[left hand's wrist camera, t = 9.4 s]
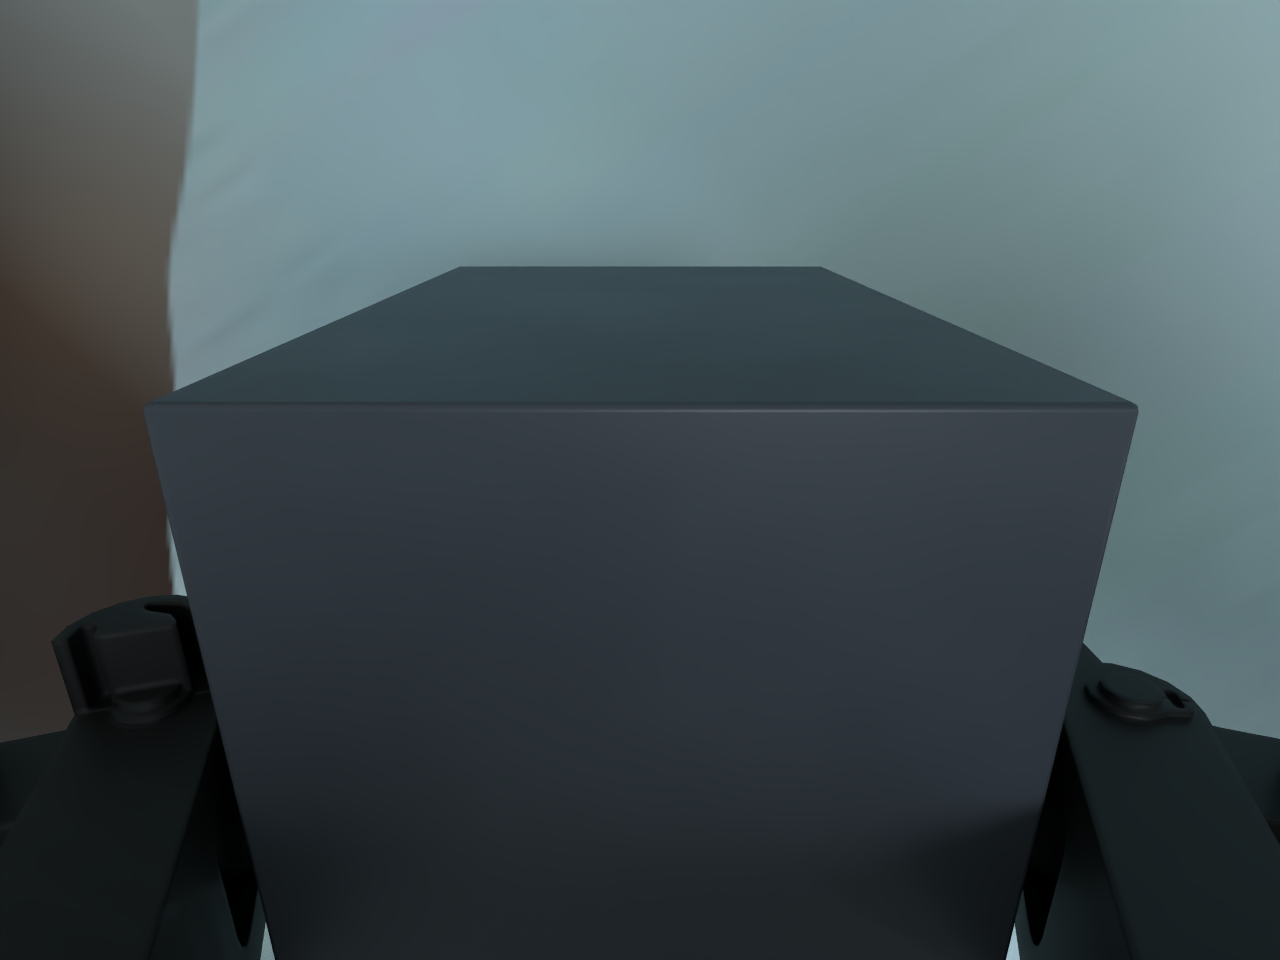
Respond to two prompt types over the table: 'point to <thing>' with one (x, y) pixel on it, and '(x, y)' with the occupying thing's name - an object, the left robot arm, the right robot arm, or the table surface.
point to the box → (640, 615)
